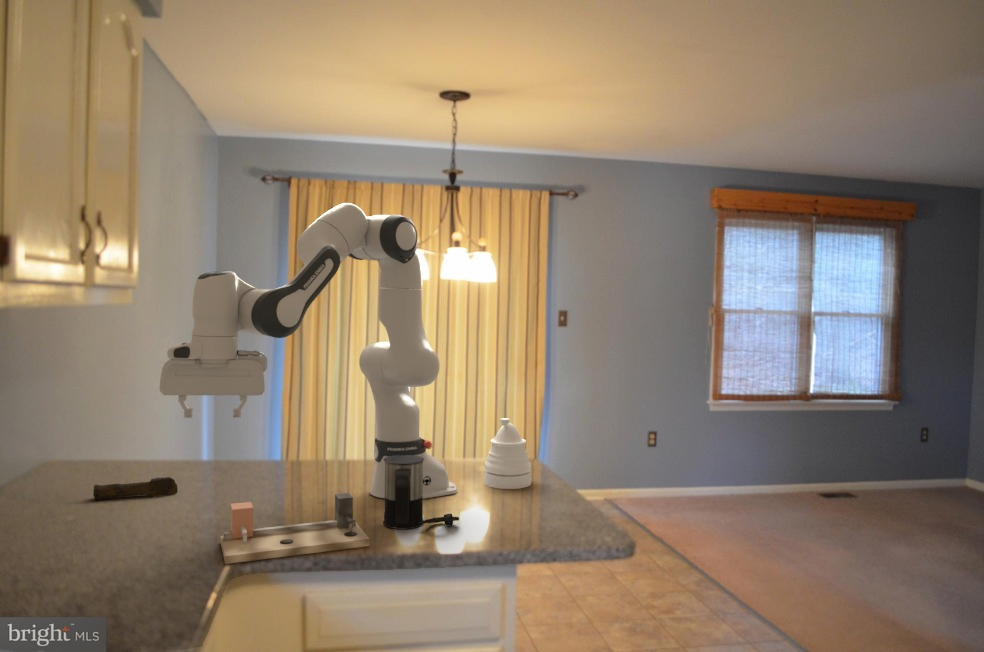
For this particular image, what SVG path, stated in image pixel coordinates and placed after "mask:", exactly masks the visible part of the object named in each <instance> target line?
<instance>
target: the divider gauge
mask: <svg viewBox="0 0 984 652" xmlns="http://www.w3.org/2000/svg"><path fill="white" fill-rule="evenodd" d="M353 507H354V497H353V496H352V495H351V493H350V492H343V493H335V494H334V520H333V519H331V520H325V521H315V522H314V521H313V522H308V523H307V522H306V523H305V522H304V523H298V524H297V523H295V524H287V525H286V524H285V525H279V526H278V525H277V526H270V527H261V528H253V536H250V537H247V544H243V537H241V538H232V531H231V530H230V531H224V532H223V534H222V535H220V539H219V541H220V543H219V544H220V547H221V550H222V551H221V553H222V557H223V560H224V564H225V565H228V564H229V565H230V564H235V563H243V562H251V561H258V560H259V561H260V560H267V559H275V558H283V557H291V556H292V557H293V556H301V555H307V554H315V553H324V552H332V551H338V550H339V551H340V550H347V549H348V550H349V549H357V548H363V547H370V537H369V536H368V535H367V534H366V532H365V531H364V530H363V529H362V528H361V526H360V525H359V524H358V523H357V520H356V518H355V517H354V515H353V514H354V512H353V511H354V508H353Z"/></svg>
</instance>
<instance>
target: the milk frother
mask: <svg viewBox="0 0 984 652" xmlns="http://www.w3.org/2000/svg"><path fill="white" fill-rule="evenodd" d="M384 461H385V498H384V511H383V521H382V523H383V524H382V525H383V526H385V527H387V528H389V529H390V528H391V529H399V530H400V529H401V530H402V529H403V530H407V529H414V528H418V527H421V526H423V525H425V524H434V523H435V524H436V523H444V525H445V527H450V526H452V525H454V522H455V521H460V517H459V516H453V514H452V513H444V514H443V516H440V517H432V518H427V519H425V520H424V512H423V511H424V510H423V508H424V507H423V505H424V504H423V502H424V501H423V500H424V499H423V496H422V495H423V461H424V458H423V457H420V456H415V455H395V456H389V457H386V458H384Z"/></svg>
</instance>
